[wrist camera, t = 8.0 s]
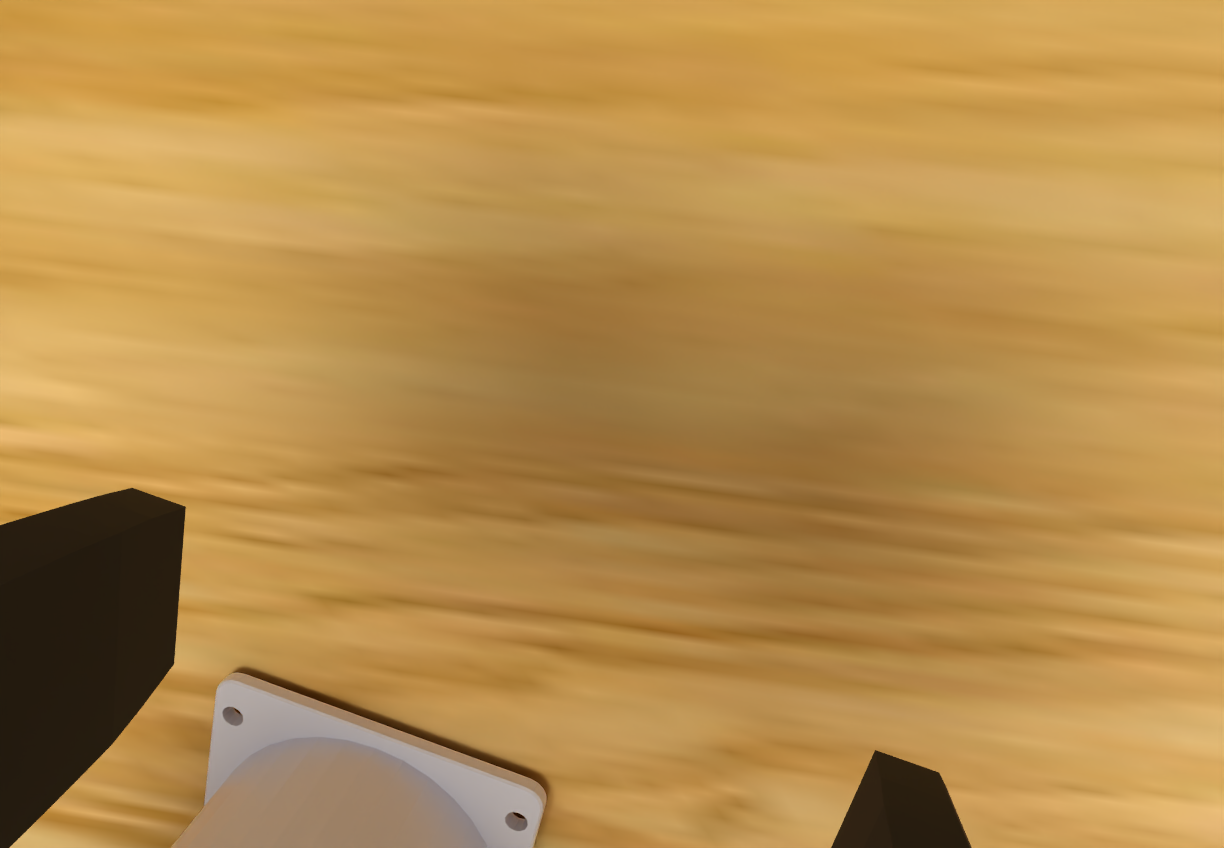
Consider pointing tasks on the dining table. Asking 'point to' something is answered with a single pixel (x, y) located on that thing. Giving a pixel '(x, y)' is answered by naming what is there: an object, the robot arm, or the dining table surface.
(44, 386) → the dining table surface
